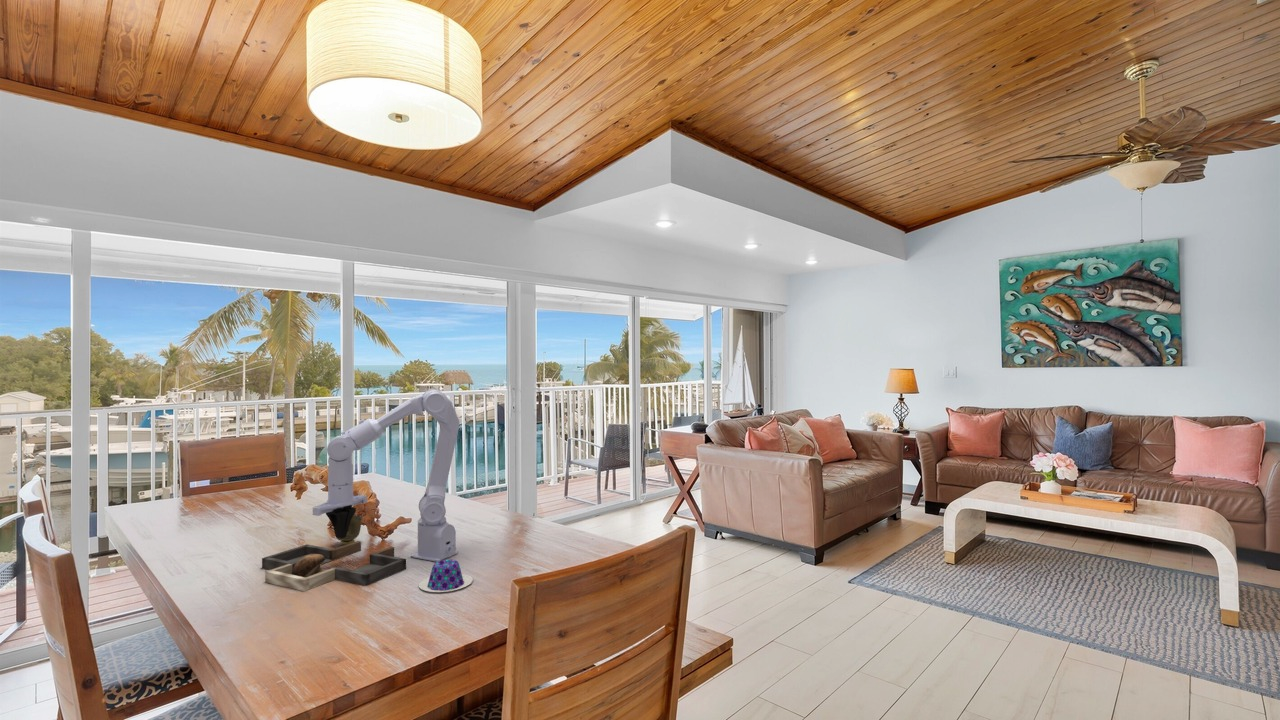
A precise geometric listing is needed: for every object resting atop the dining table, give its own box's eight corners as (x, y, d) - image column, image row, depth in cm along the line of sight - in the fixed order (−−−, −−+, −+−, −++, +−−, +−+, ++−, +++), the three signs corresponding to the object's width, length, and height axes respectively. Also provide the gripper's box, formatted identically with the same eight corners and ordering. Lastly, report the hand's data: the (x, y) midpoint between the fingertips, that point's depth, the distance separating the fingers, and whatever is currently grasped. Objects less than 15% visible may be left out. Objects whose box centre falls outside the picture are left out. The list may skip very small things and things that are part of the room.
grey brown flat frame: (423, 561, 158) (423, 552, 158) (335, 598, 134) (335, 586, 134) (332, 545, 171) (332, 536, 171) (237, 576, 147) (237, 565, 147)
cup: (350, 550, 167) (350, 521, 167) (326, 548, 169) (326, 519, 169) (367, 542, 175) (367, 514, 174) (344, 540, 176) (344, 512, 176)
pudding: (418, 580, 146) (417, 558, 146) (469, 573, 150) (469, 552, 150) (419, 598, 135) (419, 574, 135) (475, 590, 139) (475, 567, 139)
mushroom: (339, 561, 148) (322, 542, 147) (314, 584, 141) (296, 564, 140) (322, 572, 152) (305, 553, 151) (297, 595, 145) (279, 575, 144)
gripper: (353, 477, 163) (353, 528, 163) (303, 488, 149) (304, 543, 149) (372, 479, 160) (373, 531, 160) (323, 490, 146) (324, 547, 147)
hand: (341, 537), depth 154 cm, fingers closed
